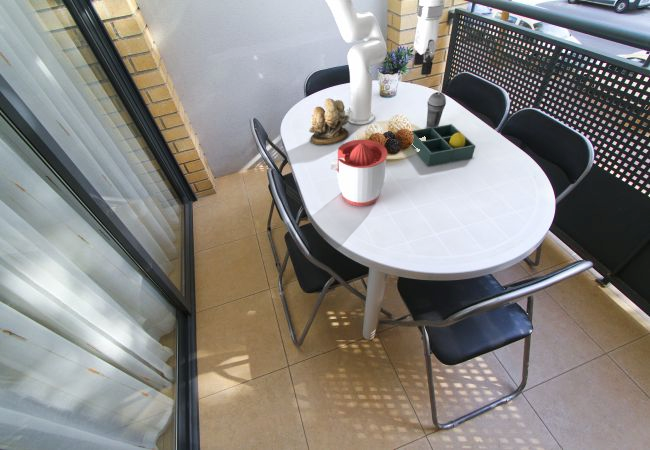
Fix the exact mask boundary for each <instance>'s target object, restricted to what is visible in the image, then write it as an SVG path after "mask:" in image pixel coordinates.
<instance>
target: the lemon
mask: <svg viewBox="0 0 650 450" xmlns="http://www.w3.org/2000/svg"><path fill="white" fill-rule="evenodd" d="M460 132H461V131H460ZM460 132H459V133H455V134H454V135H452V137H451V138H450V141H449V145H450V146H451V147H452V148H453V149H455V148H461V147H464V145H465V137H466V136H465V135H464V134H463V133H462V132H461V133H460Z"/></svg>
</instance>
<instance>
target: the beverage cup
mask: <svg viewBox="0 0 650 450" xmlns="http://www.w3.org/2000/svg"><path fill="white" fill-rule="evenodd" d="M441 89H442V82H440V84H439V87H438V91H437V92H433V93H432V94H430V96H429V98H428V99H427V103H426V104H427V115H426V128H432V127H438V126H440V122H441V120H442V116H443V112H444V109H445V107H446V105H447V97H446V95H445V94H444V93H443V92H441Z"/></svg>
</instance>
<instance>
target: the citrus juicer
mask: <svg viewBox="0 0 650 450" xmlns="http://www.w3.org/2000/svg"><path fill="white" fill-rule="evenodd" d="M388 156H389V155H388V150H387V148H386V146H385V145H383V144H382V143H380V142H378V141H376V140H371V139H353V140H349V141H347V142H344V143H342V144H341V145H339V147H338V148H337V158H336V159H334V160H332V163H331V166H330V170H331V171H337V181H338V187H339V189H340V193H341V195H342V197H343V199H344V200H345V201H346V202H347V203H348V204H350V205H353V206H357V207H365V206H369V205H371V204H373V203H375V202H376V201H377V199H378V198H379V196H380V195H381V192H382V189H383V187H384V184H385V183H384V182H385V177H386V166H387V157H388Z"/></svg>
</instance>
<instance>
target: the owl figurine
mask: <svg viewBox="0 0 650 450" xmlns="http://www.w3.org/2000/svg"><path fill="white" fill-rule="evenodd" d="M324 108H325V109H324ZM324 108H323V107H322V106H316V107H315V108H313V114H312V115H311V118H310V119H311V121H310V123H311V124H310V125H311V126H310V127H309V129H308V132H309V133H313V134H312V135H311V137H310V141H311V143H312V144H313V145H316V146H329V145H334V144H337V143H340V142H343V141H344V140H346V139H347V137H348V136H349V131H348V129H347V128H345V127H344V126H345V125H347V123H348V122H349V121H348V120H349V118H348V117H349V116H348V115H345V111H346V110H345V105H344V102H343V101H342V100H341V99H336V100H334V99H332V98H326V99H325V100H324Z"/></svg>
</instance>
